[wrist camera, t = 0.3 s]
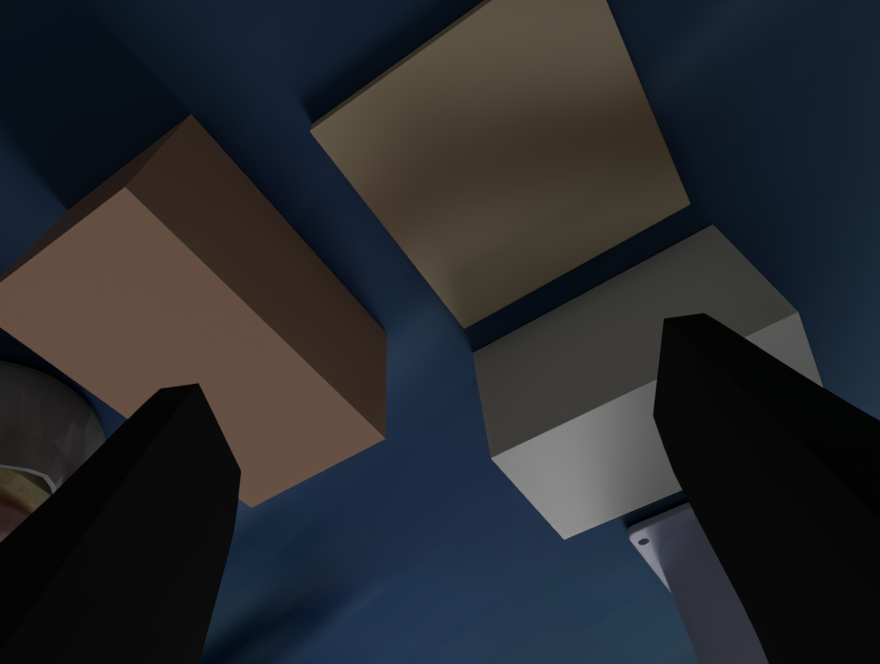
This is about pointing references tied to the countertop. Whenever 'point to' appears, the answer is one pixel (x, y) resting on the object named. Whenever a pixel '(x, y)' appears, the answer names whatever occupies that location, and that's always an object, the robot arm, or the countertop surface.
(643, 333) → the block
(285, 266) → the tan cardboard brick
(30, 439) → the cupcake
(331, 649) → the countertop surface
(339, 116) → the coaster
